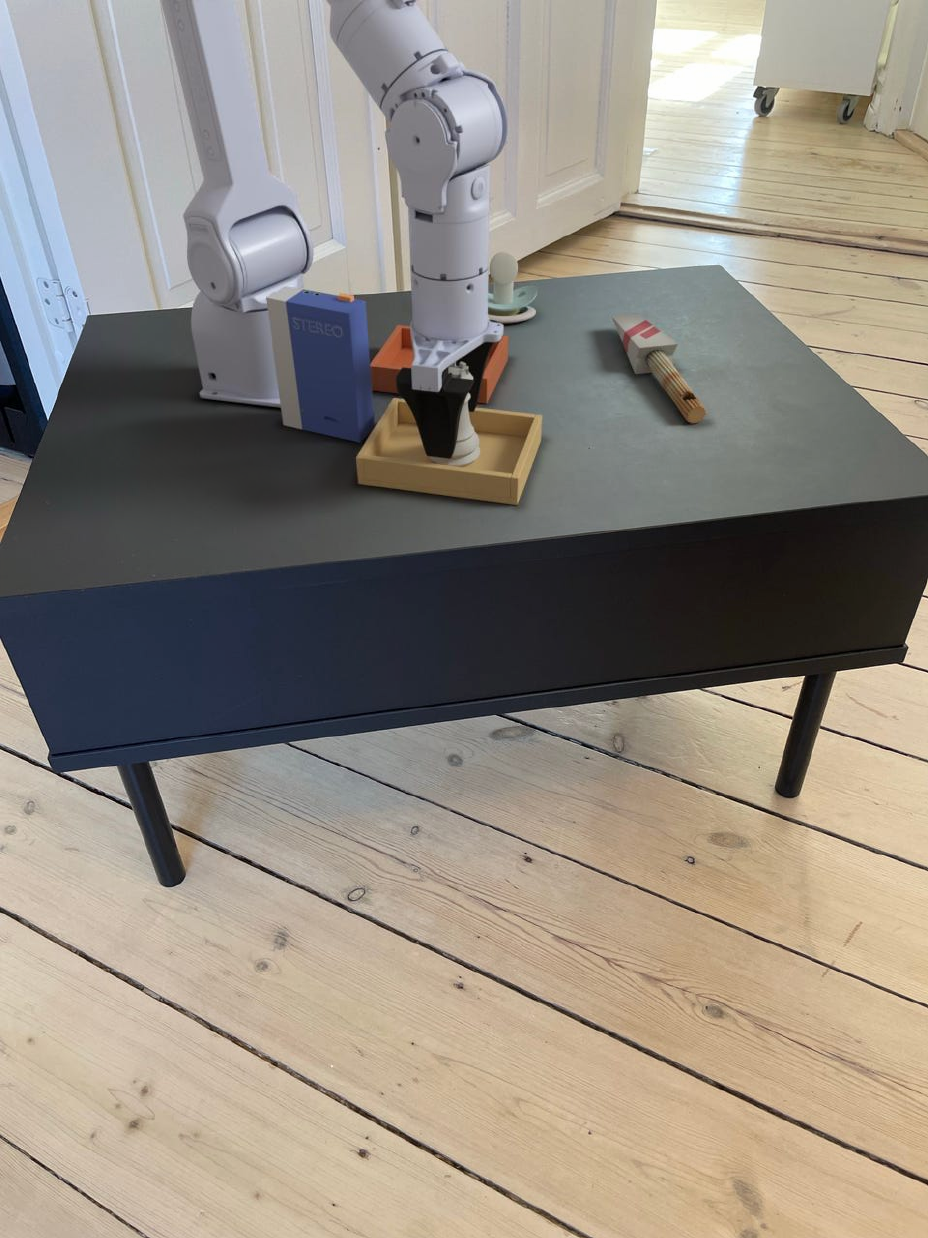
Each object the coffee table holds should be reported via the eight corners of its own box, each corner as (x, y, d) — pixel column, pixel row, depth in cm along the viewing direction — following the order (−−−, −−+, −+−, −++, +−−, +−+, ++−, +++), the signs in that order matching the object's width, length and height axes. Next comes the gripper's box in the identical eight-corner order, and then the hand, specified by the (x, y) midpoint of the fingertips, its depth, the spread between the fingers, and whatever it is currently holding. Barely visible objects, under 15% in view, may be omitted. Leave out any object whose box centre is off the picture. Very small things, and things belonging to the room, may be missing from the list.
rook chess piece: (474, 473, 79) (475, 383, 74) (421, 467, 80) (417, 378, 74) (484, 445, 82) (485, 357, 77) (433, 440, 83) (431, 352, 78)
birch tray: (358, 484, 79) (355, 457, 77) (394, 422, 86) (393, 397, 85) (517, 505, 76) (518, 478, 75) (541, 440, 84) (542, 414, 82)
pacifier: (543, 325, 102) (532, 300, 106) (546, 266, 98) (535, 243, 102) (474, 329, 101) (466, 304, 106) (474, 271, 97) (466, 247, 101)
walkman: (375, 428, 86) (365, 295, 78) (359, 443, 84) (348, 308, 76) (299, 410, 88) (282, 280, 80) (282, 424, 86) (263, 292, 78)
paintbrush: (644, 298, 99) (718, 399, 85) (640, 324, 101) (713, 426, 86) (608, 301, 98) (676, 403, 84) (605, 327, 100) (671, 431, 86)
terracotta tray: (370, 390, 91) (368, 365, 89) (398, 348, 98) (397, 324, 96) (487, 403, 89) (487, 378, 87) (507, 359, 96) (508, 335, 94)
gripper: (480, 311, 64) (479, 484, 73) (523, 235, 75) (517, 395, 84) (378, 301, 66) (389, 472, 75) (435, 228, 76) (438, 386, 85)
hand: (451, 431), depth 79 cm, fingers open, 7 cm apart
